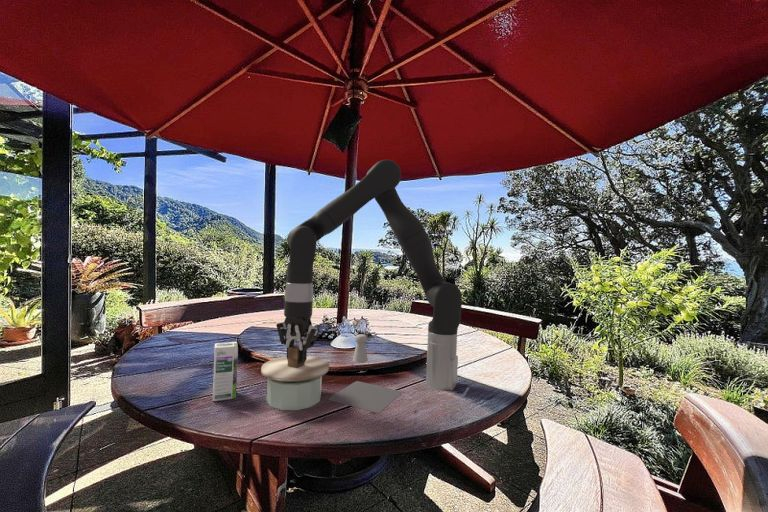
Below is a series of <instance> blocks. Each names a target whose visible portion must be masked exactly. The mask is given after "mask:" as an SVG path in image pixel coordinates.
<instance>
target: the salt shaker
mask: <svg viewBox="0 0 768 512" xmlns="http://www.w3.org/2000/svg"><path fill="white" fill-rule="evenodd" d="M354 341H355V348H354V352H353V357H352V361H354V362H358V363H365V362H367V361H368V362H369V359H368V353H367V352H368V351H367V345H366V343H367V342H368V335H367V334H362V333H359V334H356V335H355V337H354ZM366 372H367V370H366V371H360V372H358V373H359V374H362V373H363V374H364V373H366ZM358 373H357V374H358Z"/></svg>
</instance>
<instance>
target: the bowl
mask: <svg viewBox="0 0 768 512" xmlns="http://www.w3.org/2000/svg"><path fill="white" fill-rule="evenodd" d="M322 379H323V376H320V377H318V378H314V379H310V380H304V381H277V380H272V379H269V378H267V380H266V381H267V383H266V403H267V404H268V406H269V407H271V408H273V409H274V408H275V409H277V410H279V411H280V410H281V411H298V410H302V409H308V408H312V407H313V406H315V405H317V403H318V404H319V402H320V400H321V398H322V382H323V381H322Z"/></svg>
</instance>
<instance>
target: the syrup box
mask: <svg viewBox="0 0 768 512" xmlns="http://www.w3.org/2000/svg"><path fill="white" fill-rule="evenodd" d="M238 346H239V345H238V342H237V341H230V342H217V343H214V353H213V355H214V359H213V378H212V381H213V382H212V384H213V385H212V402H213V401H215V402H218V401H219V402H220V401H227V400H232V399H233V400H234V399H236V398H237V385H238V384H237V380H238V379H237V378H238V358H239V357H238V356H239V354H238V353H239V347H238Z"/></svg>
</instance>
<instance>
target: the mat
mask: <svg viewBox="0 0 768 512" xmlns="http://www.w3.org/2000/svg"><path fill="white" fill-rule="evenodd" d="M402 393H403V390H398V389H394V388H393V389H392V388H388V387H384V386H380V385H376V384H372V383H367V382H363V381H359V380H356V381H354V382H352V383H351V384H349V385H348V386H346V387H344V388H343V389H341V390H340V391H338V392H337V393H334V394H333V395H331V396H329V398H327V399H326V400H327V401H331V402H335V403H338V404H342V405H345V406H346V405H347V406H349V407H353V408H356V409H360V410H361V409H362V410H365V411H367V412H371V413H375V414H380V413H382V412H383V411H384V410H385V409H386V408H387V407H388V406H389V405H390V404H391V403H393V402H394V401H395V399H397V398H398V397H400V396H401V394H402Z"/></svg>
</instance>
